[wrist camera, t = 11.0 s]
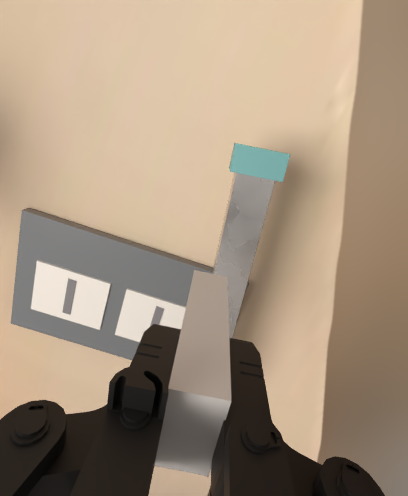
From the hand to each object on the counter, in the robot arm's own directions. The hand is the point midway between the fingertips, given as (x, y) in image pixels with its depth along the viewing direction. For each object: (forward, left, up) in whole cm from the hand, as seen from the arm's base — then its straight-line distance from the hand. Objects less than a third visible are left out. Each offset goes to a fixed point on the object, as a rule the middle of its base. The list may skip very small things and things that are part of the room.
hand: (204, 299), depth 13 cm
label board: (-15, +7, -20) cm, 26 cm away
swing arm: (-6, -3, -14) cm, 15 cm away
